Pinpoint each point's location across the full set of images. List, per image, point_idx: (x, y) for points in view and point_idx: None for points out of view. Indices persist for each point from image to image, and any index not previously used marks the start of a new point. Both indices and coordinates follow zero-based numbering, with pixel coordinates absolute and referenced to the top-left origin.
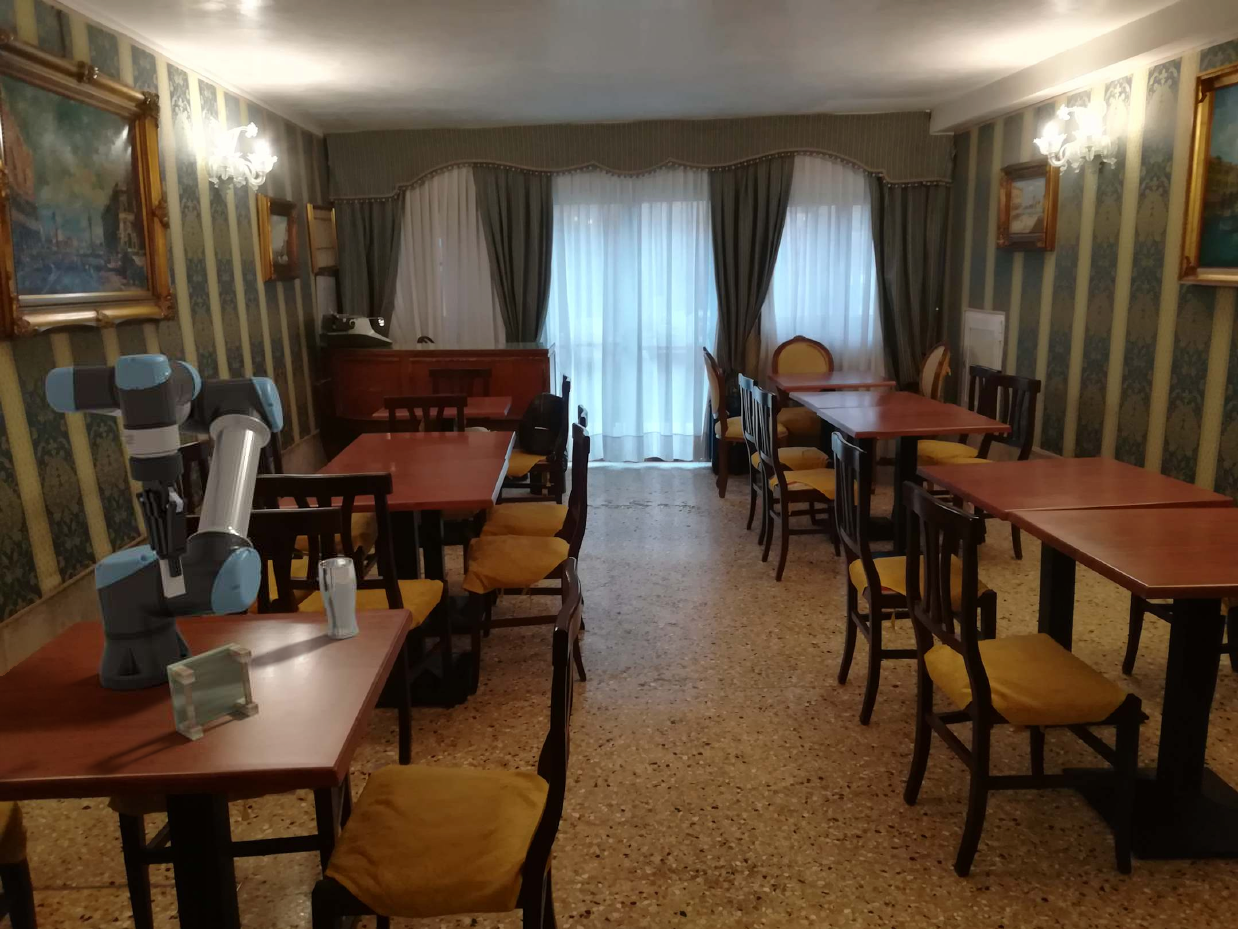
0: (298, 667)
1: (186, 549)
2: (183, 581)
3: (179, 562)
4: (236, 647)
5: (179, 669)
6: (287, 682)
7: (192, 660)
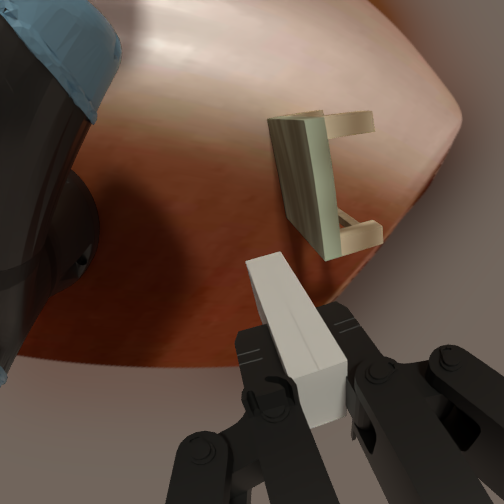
0: (188, 7)
1: (472, 356)
2: (294, 275)
3: (372, 344)
4: (336, 125)
5: (356, 244)
6: (237, 38)
7: (334, 216)
